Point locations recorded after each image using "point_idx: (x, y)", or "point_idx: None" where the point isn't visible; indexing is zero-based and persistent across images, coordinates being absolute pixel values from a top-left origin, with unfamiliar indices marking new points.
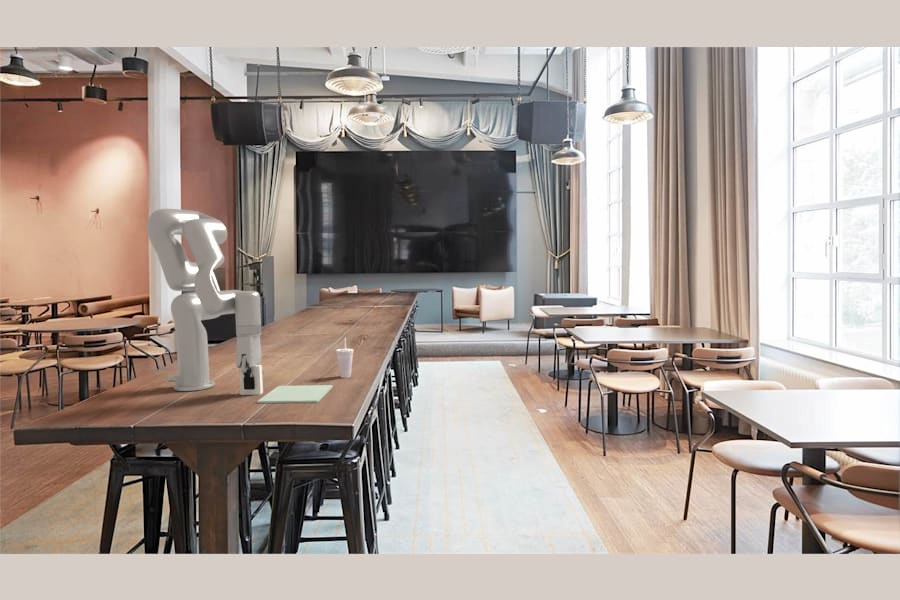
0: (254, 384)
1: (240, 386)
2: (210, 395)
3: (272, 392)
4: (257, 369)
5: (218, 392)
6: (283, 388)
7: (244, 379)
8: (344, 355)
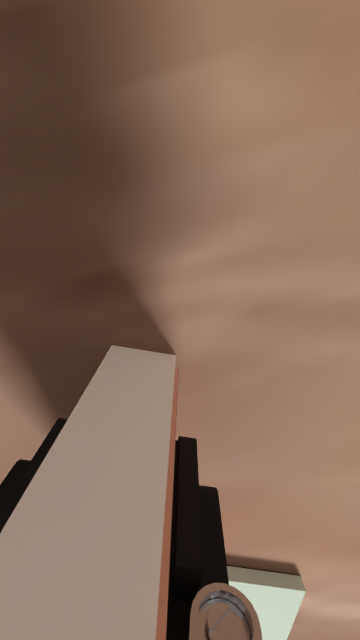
0: None
1: (91, 386)
2: (130, 3)
3: None
4: None
5: (271, 72)
6: None
7: (4, 513)
8: None
